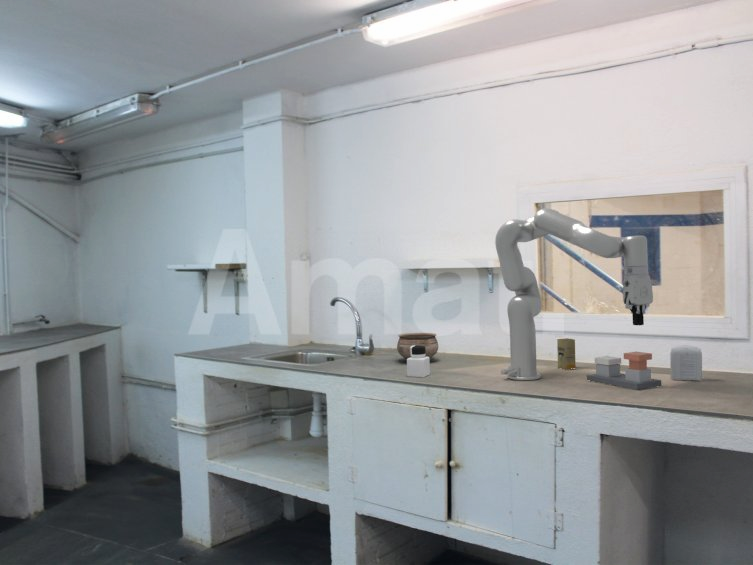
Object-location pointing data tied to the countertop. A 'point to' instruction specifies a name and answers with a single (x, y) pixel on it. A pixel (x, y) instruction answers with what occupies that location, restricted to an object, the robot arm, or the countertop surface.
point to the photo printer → (686, 363)
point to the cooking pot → (417, 343)
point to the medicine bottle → (418, 362)
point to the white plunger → (607, 360)
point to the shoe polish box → (566, 353)
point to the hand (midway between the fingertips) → (638, 324)
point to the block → (624, 377)
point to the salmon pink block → (638, 360)
